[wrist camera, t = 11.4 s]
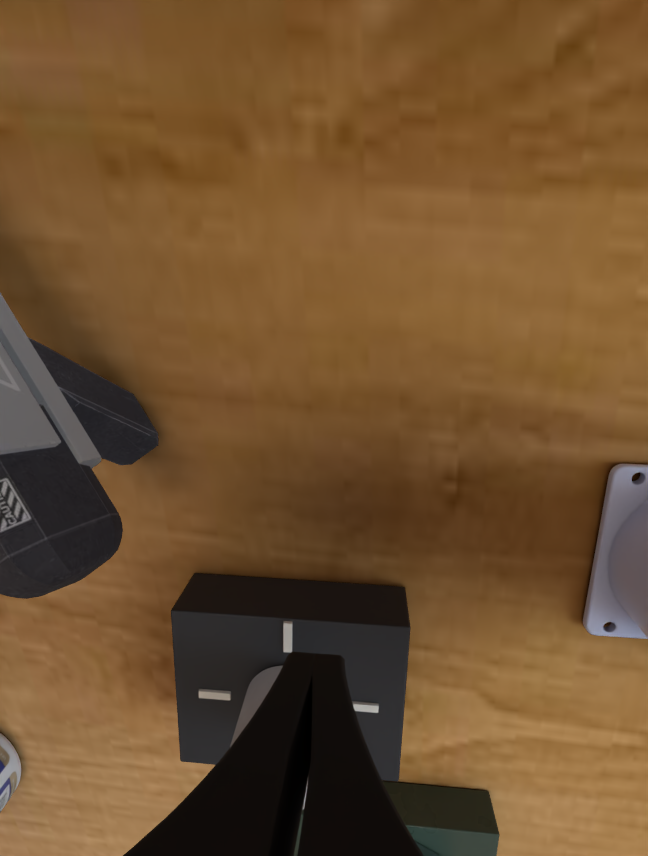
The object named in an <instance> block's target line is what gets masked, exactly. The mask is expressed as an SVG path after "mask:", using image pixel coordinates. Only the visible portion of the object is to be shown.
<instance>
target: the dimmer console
mask: <svg viewBox="0 0 648 856" xmlns="http://www.w3.org/2000/svg"><path fill="white" fill-rule="evenodd" d="M171 619H172V635H173V650H174V666H175V681H176V697H177V712H178V728H179V743H180V759H181V761H183V762H194V763H204V764H215V765H216V764H217V763H218V762H219V761H220V759H221V758H222V757H223V756H224V755H225V753H226V752H227V751H228V750H229V748H230V745H231V742H232V739H233V735H234V732H235V729H236V725H237V722H238V719H239V715H240V712H241V709H242V706H243V702H244V699H245V696H246V692H247V689H248V687H249V684H250V683H251V681H252V680H253V678H254V677H255V676H256V675H258V674H259V673H260V672H262V671H263V670H265V669H268V668H271V667H275V666H282V665H284V663H285V660H286V658H287V656H288V655H289V654H290V653H291V652H304V653H319V654H333V655H341V656H342V657H343V658H344V659H345V671H346V678H347V683H348V687H349V691H350V696H351V699H352V703H353V706H354V710H355V713H356V716H357V719H358V722H359V725H360V728H361V731H362V733H363V736H364V739H365V742H366V744H367V747H368V749H369V752H370V754H371V757H372V759H373V761H374V764H375V766H376V768H377V771H378V773H379V775H380V777H381V779H382V780H385V781H396V782H397V781H398V780H399V769H400V756H401V743H402V730H403V717H404V704H405V691H406V678H407V665H408V652H409V639H410V622H409V614H408V607H407V599H406V592H405V587H398V586H383V585H367V584H352V583H337V582H322V581H306V580H291V579H276V578H260V577H245V576H230V575H215V574H199V573H194V574H193V576H192V578H191V579H190V581H189V583H188V584H187V586H186V587H185V589H184V591H183V592H182V594H181V595H180V597H179V599H178V600H177V602H176V603H175V605H174V607H173V608H172V610H171Z"/></svg>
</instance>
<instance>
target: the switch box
mask: <svg viewBox="0 0 648 856" xmlns="http://www.w3.org/2000/svg"><path fill="white" fill-rule="evenodd" d="M383 783H384V786H385V788H386V790H387V792H388V794H389V796H390V798H391V800H392V802H393V803H394V805H395V807H396V809H397V811H398V813H399V815H400V817H401V819H402V820H403V822H404V824H405V826H406V827H407V829H408V831H409V832H410V834H411V836H412V837H413V839H414V841H415V842H416V844H417V846H418V847H419V849H420V851H421V852H422V854H423V856H496V854H497V847H498V840H499V831H498V827H497V823H496V819H495V815H494V811H493V807H492V803H491V799H490V795H489V792H488V791H482V790H471V789H461V788H450V787H440V786H429V785H418V784H408V783H397V782H387V781H383ZM303 814H304V809H303V810H302V814H301V820H300V825H299V830H298V836H297V841H296V846H295V852H294V856H297V855H298V848H299V842H300V835H301V828H302V821H303Z"/></svg>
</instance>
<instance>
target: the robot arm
mask: <svg viewBox="0 0 648 856" xmlns="http://www.w3.org/2000/svg"><path fill="white" fill-rule="evenodd" d="M639 472H640V477H639V479H637V480H636V481H632V476H633V475H634V474H635V473H639ZM607 622H611V624H610V625H609V626H606V627H604V624H606V623H607ZM583 625H584V627H585V628H586V630H587V631H588V632H589V633H590V634H592V635H598V636H612V637H627V638H641V639H648V465H643V464H618V465H616V466H614V467H613V468H612V469H611V471H610V473H609V477H608V483H607V488H606V494H605V499H604V505H603V511H602V516H601V522H600V527H599V533H598V539H597V544H596V550H595V555H594V561H593V567H592V572H591V578H590V583H589V589H588V595H587V600H586V606H585V611H584V617H583ZM307 782H308V785H307ZM306 788H307V792H306ZM305 793H306V800H305V807H304V814H303V821H302V828H301V835H300V842H299V848H298V855H297V856H423V854H422V852H421V851H420V849H419V847H418V846H417V844H416V842H415V841H414V839H413V837H412V836H411V834H410V832H409V831H408V829H407V827H406V826H405V824H404V822H403V820H402V819H401V817H400V815H399V813H398V811H397V809H396V807H395V805H394V803H393V802H392V800H391V798H390V796H389V794H388V792H387V790H386V788H385V786H384V783H383V781H382V779H381V777H380V775H379V773H378V771H377V768H376V766H375V764H374V761H373V759H372V757H371V754H370V752H369V749H368V747H367V744H366V742H365V739H364V736H363V733H362V731H361V728H360V725H359V722H358V719H357V716H356V713H355V710H354V706H353V703H352V699H351V696H350V691H349V687H348V683H347V678H346V671H345V659H344V658H343V657H342V656H341V655H333V654H319V653H304V652H291V653H290V654H289V655H288V656H287V658H286V660H285V663H284V665H283V667H282V669H281V671H280V673H279V674H278V676H277V678H276V680H275V682H274V683H273V685H272V687H271V689H270V690H269V692H268V694H267V695H266V697H265V698H264V700H263V701H262V703H261V705H260V706H259V708H258V709H257V711H256V712H255V714H254V715H253V717H252V718H251V720H250V721H249V723H248V724H247V725H246V727H245V728H244V729H243V731H242V732H241V734H240V735H239V736H238V738H237V739H236V740H235V742H234V743H233V744H232V746H231V747H230V748H229V750H228V751H227V752H226V753H225V755H224V756H223V757H222V758H221V759H220V761H219V762H218V763H217V764H216V765H215V767H214V768H213V769H212V770H211V771H210V772H209V774H208V775H207V776H206V777H205V778H204V779H203V780H202V781H201V782H200V784H199V785H198V786H197V787H196V788H195V789H194V790H193V791H192V792H191V793H190V794H189V795H188V796H187V797H186V798H185V799H184V800H183V802H182V803H180V804H179V805H178V806H177V807H176V808H175V809H174V810H173V811H172V812H171V813H170V814H169V815H168V816H167V817H166V818H165V819H164V820H163V821H162V822H161V823H159V824H158V825H157V826H156V827H155V828H154V829H153V830H152V831H151V832H149V833H148V834H147V835H146V836H145V837H144V838H143V839H142V840H141V841H139V842H138V843H137V844H136V845H135V846H134V847H133V848H132V849H130V850H129V851H128V852H127V853H126V854H124V855H123V856H294V852H295V846H296V841H297V836H298V830H299V825H300V820H301V814H302V809H303V804H304V798H305Z"/></svg>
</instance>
